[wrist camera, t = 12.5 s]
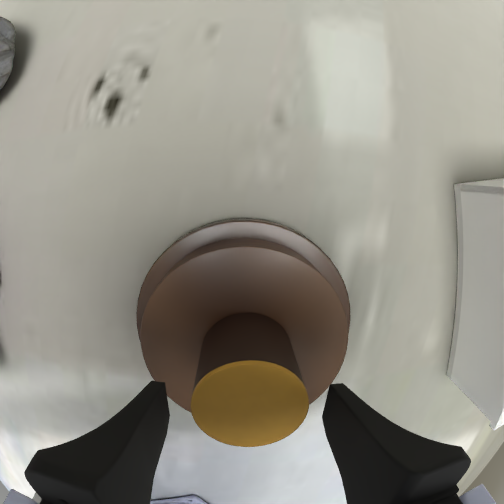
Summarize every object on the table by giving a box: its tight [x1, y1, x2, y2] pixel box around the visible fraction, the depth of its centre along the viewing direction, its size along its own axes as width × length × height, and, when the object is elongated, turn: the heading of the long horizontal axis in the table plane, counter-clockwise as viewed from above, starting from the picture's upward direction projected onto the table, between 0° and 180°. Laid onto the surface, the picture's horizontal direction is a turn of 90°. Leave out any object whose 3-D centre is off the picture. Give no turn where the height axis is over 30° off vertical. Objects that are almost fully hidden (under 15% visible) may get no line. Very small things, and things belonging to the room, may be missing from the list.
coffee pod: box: [191, 313, 309, 447], centre depth 14 cm, size 5×5×5 cm
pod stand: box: [137, 218, 350, 412], centre depth 18 cm, size 14×14×4 cm
